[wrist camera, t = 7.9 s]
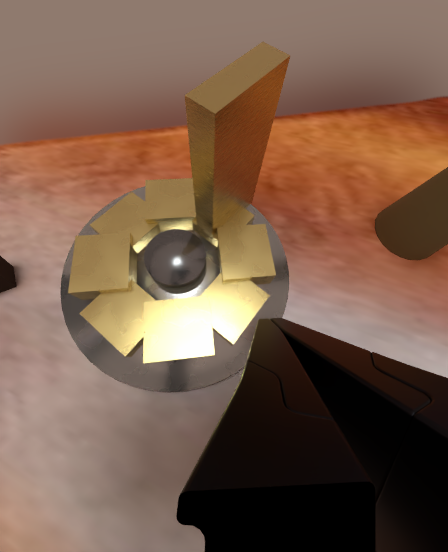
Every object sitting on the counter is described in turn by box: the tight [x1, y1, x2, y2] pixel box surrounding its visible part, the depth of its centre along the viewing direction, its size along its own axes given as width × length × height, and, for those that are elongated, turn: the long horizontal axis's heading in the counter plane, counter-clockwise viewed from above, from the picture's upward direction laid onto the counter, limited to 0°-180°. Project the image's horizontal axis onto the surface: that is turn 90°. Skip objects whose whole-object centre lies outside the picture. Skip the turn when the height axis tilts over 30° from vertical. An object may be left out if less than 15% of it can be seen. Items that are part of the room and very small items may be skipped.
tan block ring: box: [68, 42, 290, 363], centre depth 13 cm, size 16×14×10 cm
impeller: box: [61, 186, 289, 392], centre depth 18 cm, size 18×18×3 cm
